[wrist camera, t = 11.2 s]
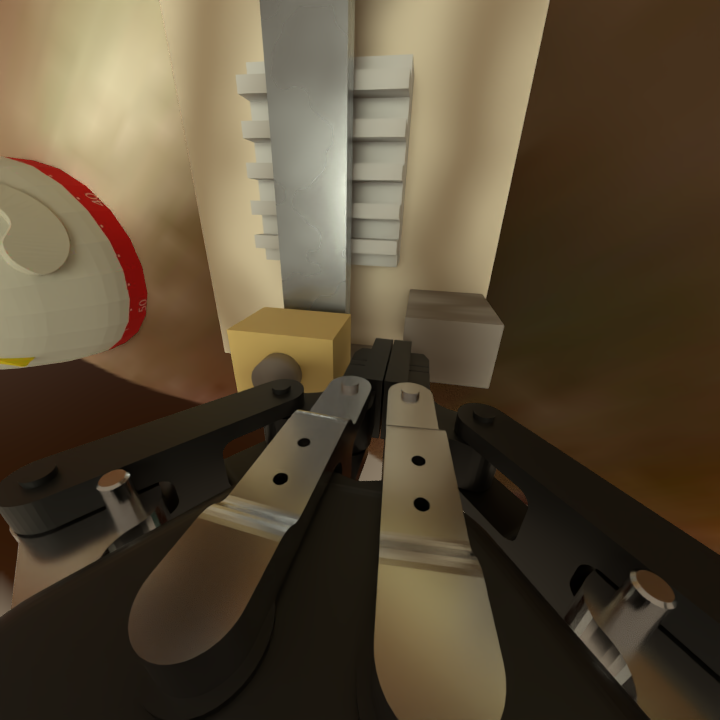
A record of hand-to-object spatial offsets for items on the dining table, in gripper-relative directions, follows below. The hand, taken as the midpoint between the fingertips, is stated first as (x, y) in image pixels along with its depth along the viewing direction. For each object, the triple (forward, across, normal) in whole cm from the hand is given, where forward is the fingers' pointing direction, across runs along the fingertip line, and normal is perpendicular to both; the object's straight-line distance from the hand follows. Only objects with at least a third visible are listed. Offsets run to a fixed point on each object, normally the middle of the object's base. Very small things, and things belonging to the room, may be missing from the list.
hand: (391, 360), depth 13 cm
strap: (+3, +4, -7) cm, 9 cm away
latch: (+1, +4, 0) cm, 4 cm away
